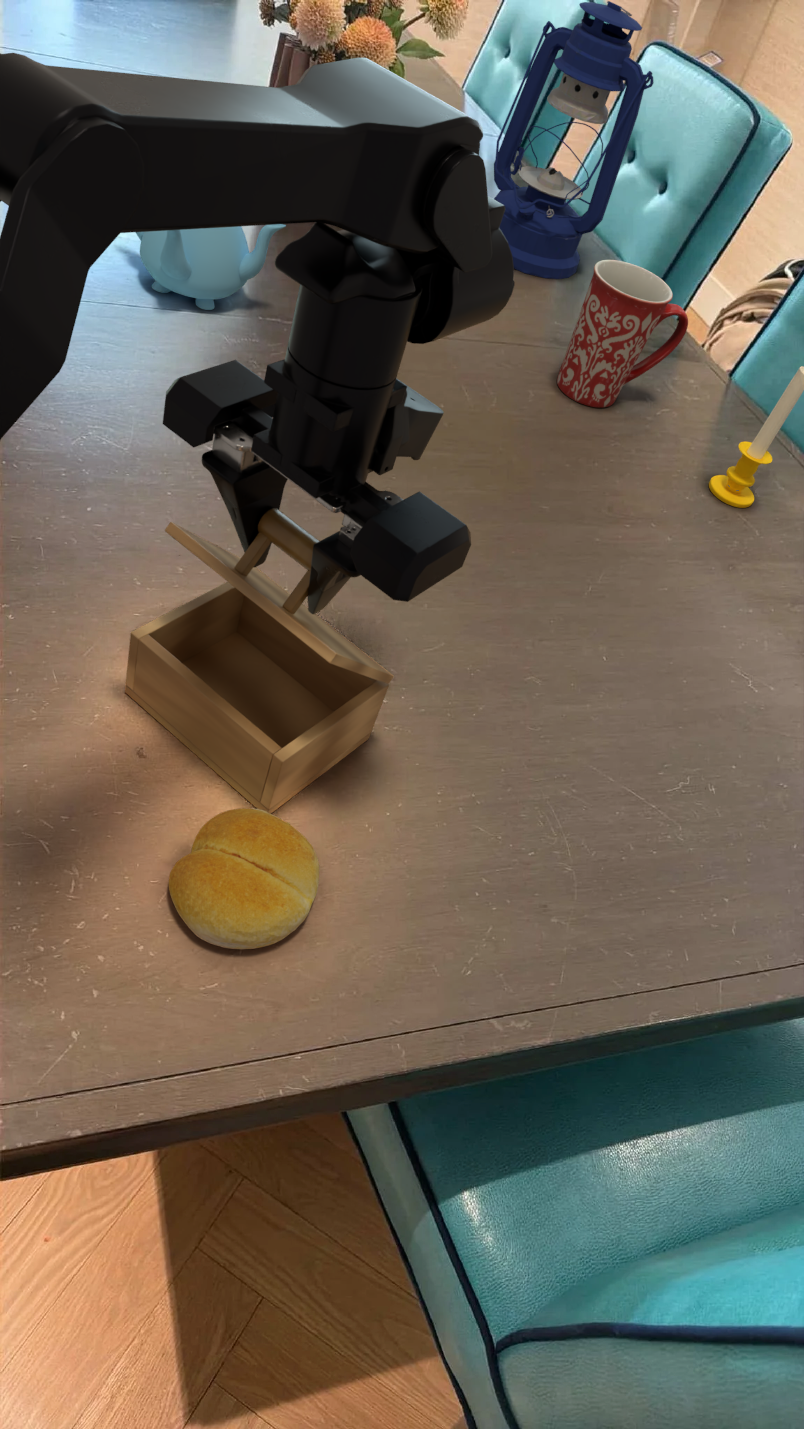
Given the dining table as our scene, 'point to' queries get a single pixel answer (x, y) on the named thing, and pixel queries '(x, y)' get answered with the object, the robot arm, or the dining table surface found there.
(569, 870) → the dining table surface
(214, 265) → the teapot
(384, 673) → the box door
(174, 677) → the storage box
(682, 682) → the dining table surface
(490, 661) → the dining table surface
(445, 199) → the robot arm
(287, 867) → the bread roll
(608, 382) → the mug
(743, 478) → the candle
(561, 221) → the lantern
